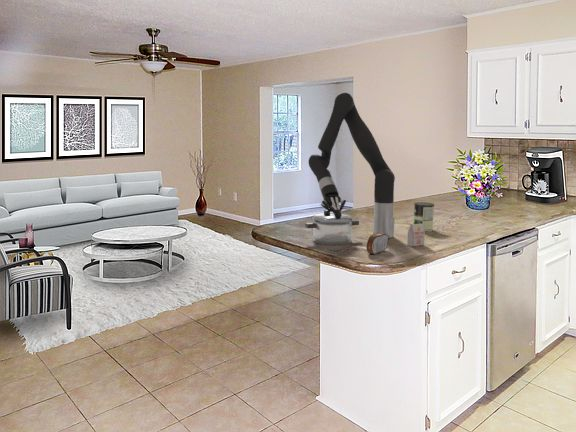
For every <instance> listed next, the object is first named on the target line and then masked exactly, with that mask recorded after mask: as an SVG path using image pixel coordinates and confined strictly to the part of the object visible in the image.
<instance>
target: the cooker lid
mask: <svg viewBox="0 0 576 432" xmlns="http://www.w3.org/2000/svg"><path fill="white" fill-rule="evenodd" d="M341 215H342V216H341V218H340V219H336V218H335V216H334V213H333V212H329V211H328V210H326V209H325V210H323V213H317V214H313V215H312V221H313V222H314V221H316V222H320V223H331V224H339V223H349V222H352V221H353V220H354V218H353V216H352V215H349V214H346V213H345V214H343V213H341Z"/></svg>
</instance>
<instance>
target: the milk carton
mask: <svg viewBox="0 0 576 432" xmlns="http://www.w3.org/2000/svg"><path fill="white" fill-rule="evenodd" d="M425 235H426V232H424V227H423V224H410V226H409V230H408V232H407V243H406V245H407V246H408V245H410V246H409V247H411V246H416V247H420V246H419V245H424V246H425V237H426V236H425Z"/></svg>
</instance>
